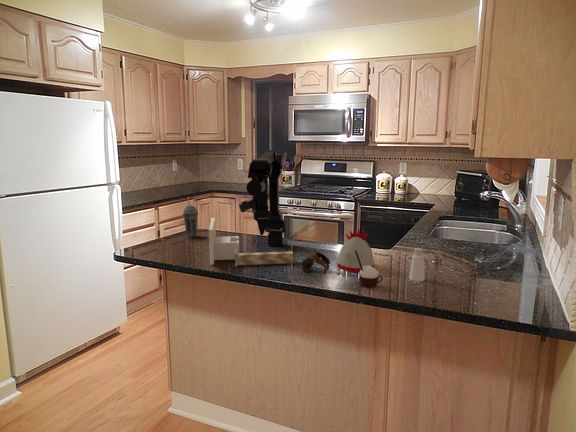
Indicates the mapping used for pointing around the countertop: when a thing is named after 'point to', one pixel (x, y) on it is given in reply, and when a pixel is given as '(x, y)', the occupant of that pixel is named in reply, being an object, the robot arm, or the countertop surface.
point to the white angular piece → (221, 245)
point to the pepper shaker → (417, 266)
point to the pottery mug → (316, 257)
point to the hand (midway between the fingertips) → (260, 232)
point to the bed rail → (263, 258)
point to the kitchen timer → (348, 255)
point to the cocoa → (368, 275)
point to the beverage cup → (190, 220)
